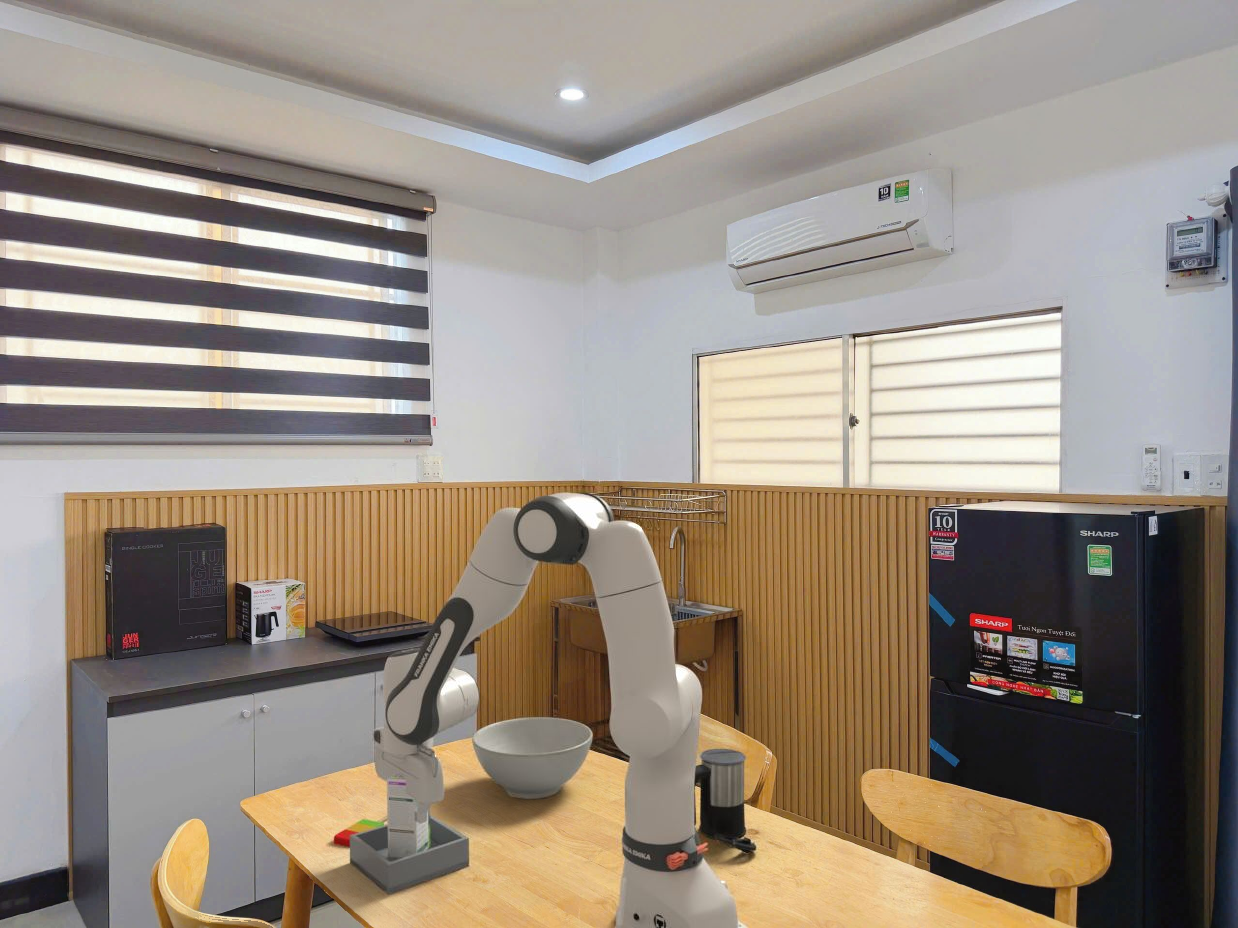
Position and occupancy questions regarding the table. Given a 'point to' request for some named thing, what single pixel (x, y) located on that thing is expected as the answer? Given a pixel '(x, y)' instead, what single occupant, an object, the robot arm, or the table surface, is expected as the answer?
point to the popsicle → (356, 830)
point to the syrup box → (404, 821)
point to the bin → (408, 857)
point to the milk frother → (722, 797)
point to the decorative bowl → (532, 754)
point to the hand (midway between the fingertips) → (409, 813)
